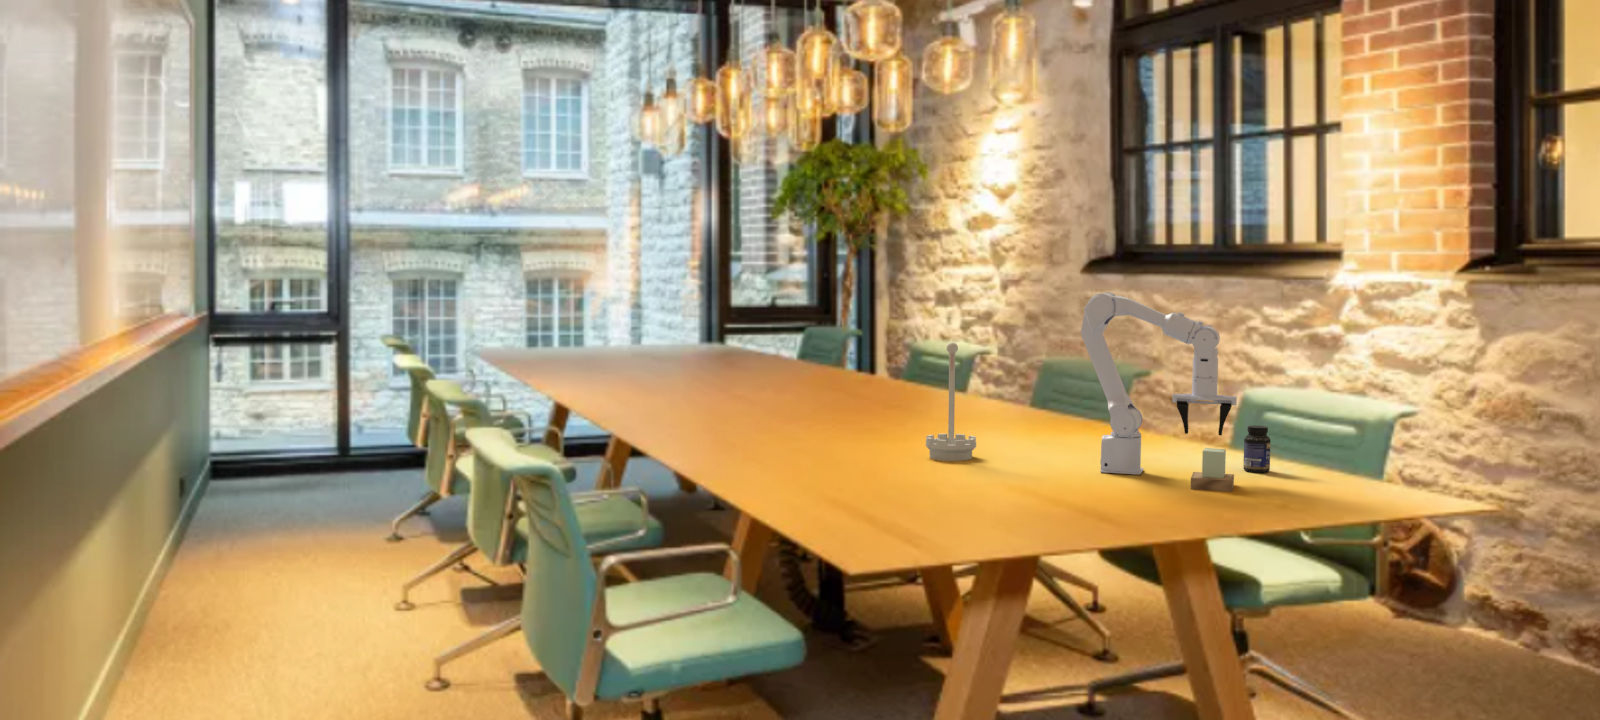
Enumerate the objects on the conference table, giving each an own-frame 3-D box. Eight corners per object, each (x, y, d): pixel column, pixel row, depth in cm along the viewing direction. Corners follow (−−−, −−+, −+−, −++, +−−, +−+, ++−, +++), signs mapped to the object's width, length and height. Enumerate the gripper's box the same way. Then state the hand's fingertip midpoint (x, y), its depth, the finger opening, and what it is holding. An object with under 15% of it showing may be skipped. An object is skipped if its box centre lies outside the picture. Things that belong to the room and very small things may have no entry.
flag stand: (926, 452, 346) (927, 340, 343) (976, 454, 344) (977, 341, 341) (924, 461, 333) (925, 344, 330) (975, 462, 331) (977, 344, 328)
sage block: (1202, 476, 296) (1202, 450, 296) (1204, 473, 301) (1205, 448, 300) (1222, 478, 295) (1223, 452, 294) (1225, 475, 299) (1225, 449, 298)
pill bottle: (1271, 473, 315) (1272, 428, 314) (1245, 472, 317) (1246, 427, 316) (1267, 469, 321) (1269, 425, 320) (1241, 468, 323) (1243, 424, 322)
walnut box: (1190, 491, 295) (1190, 478, 295) (1193, 484, 304) (1193, 471, 303) (1232, 494, 292) (1232, 480, 292) (1233, 487, 301) (1234, 474, 300)
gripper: (1171, 377, 307) (1170, 434, 308) (1236, 379, 302) (1234, 437, 303) (1174, 374, 313) (1172, 430, 315) (1237, 377, 308) (1235, 433, 310)
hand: (1203, 434), depth 309 cm, fingers open, 7 cm apart
